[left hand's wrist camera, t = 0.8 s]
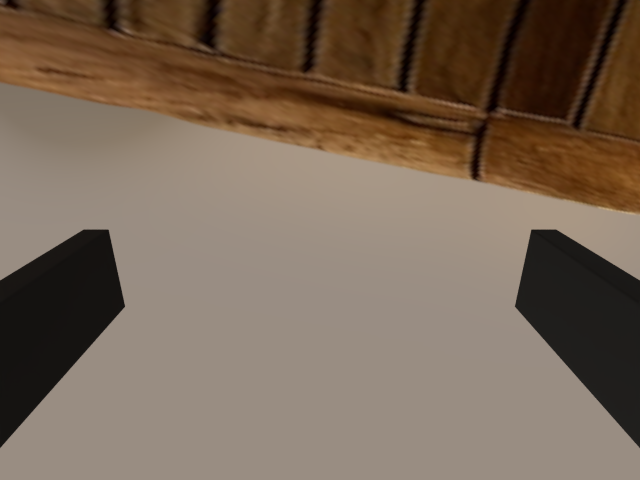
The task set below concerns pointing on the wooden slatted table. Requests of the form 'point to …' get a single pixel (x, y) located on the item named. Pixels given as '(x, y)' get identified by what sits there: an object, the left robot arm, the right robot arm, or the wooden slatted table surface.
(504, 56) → the wooden slatted table surface
